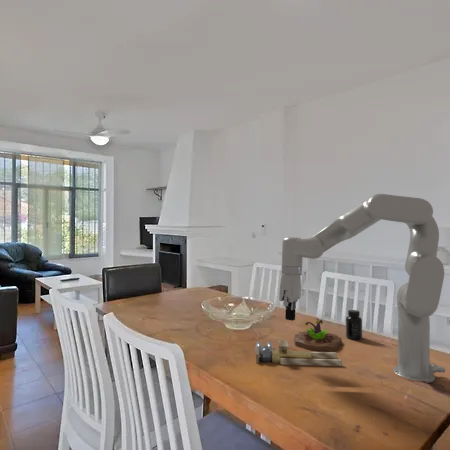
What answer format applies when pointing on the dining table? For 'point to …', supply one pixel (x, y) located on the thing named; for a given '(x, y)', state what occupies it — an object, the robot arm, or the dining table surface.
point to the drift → (289, 354)
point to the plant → (317, 339)
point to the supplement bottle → (354, 325)
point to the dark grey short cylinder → (266, 354)
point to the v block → (262, 346)
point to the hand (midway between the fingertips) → (290, 319)
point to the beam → (330, 361)
